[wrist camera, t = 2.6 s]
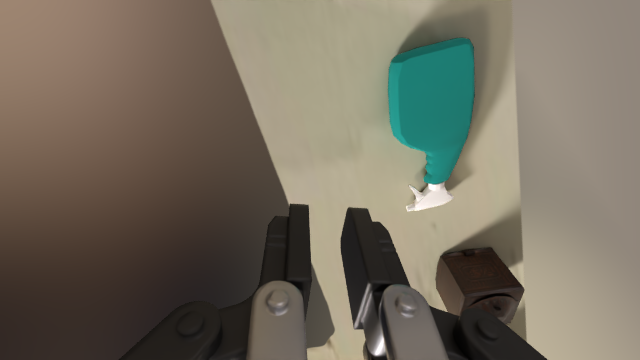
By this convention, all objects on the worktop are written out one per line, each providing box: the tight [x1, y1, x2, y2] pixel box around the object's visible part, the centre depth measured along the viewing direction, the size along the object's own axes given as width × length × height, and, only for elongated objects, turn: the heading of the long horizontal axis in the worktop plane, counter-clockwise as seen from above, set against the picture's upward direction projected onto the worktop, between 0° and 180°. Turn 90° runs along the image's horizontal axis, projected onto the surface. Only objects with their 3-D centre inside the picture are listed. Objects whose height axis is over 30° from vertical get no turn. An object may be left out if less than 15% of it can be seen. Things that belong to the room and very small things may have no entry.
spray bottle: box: [388, 38, 475, 211], centre depth 39 cm, size 3×11×24 cm
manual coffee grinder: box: [436, 248, 524, 324], centre depth 48 cm, size 16×11×18 cm
